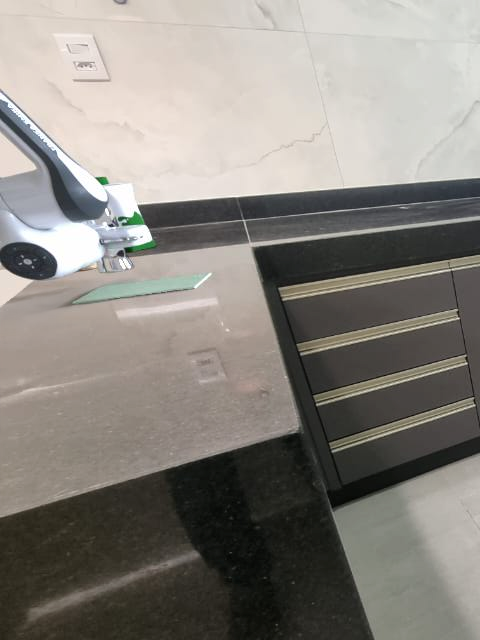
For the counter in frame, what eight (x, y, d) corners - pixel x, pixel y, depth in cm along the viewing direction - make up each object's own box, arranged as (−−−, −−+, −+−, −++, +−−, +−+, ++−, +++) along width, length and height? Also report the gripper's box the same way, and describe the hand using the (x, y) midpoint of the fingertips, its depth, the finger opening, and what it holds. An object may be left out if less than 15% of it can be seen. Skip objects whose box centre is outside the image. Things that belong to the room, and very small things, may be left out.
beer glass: (88, 273, 117) (55, 204, 111) (122, 265, 123) (93, 199, 117) (111, 274, 116) (79, 204, 109) (145, 266, 122) (116, 199, 116)
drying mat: (73, 304, 105) (72, 302, 104) (102, 287, 115) (101, 286, 115) (195, 288, 112) (194, 286, 111) (211, 274, 122) (210, 272, 122)
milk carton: (137, 245, 159) (106, 176, 150) (162, 245, 157) (132, 175, 149) (106, 252, 151) (71, 179, 142) (132, 252, 149) (99, 178, 141)
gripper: (130, 223, 108) (154, 214, 119) (-5, 234, 100) (35, 223, 112) (143, 254, 110) (166, 242, 122) (12, 267, 103) (50, 253, 115)
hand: (102, 233), depth 117 cm, fingers closed on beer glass, 6 cm apart
